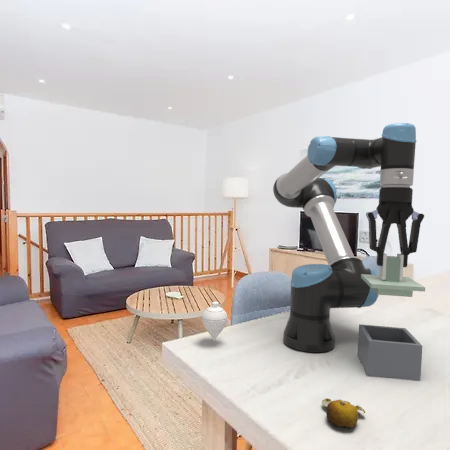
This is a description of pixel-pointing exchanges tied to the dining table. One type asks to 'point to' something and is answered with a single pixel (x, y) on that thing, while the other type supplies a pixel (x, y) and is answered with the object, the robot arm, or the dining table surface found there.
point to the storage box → (389, 352)
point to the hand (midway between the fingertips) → (390, 279)
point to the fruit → (341, 412)
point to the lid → (392, 281)
